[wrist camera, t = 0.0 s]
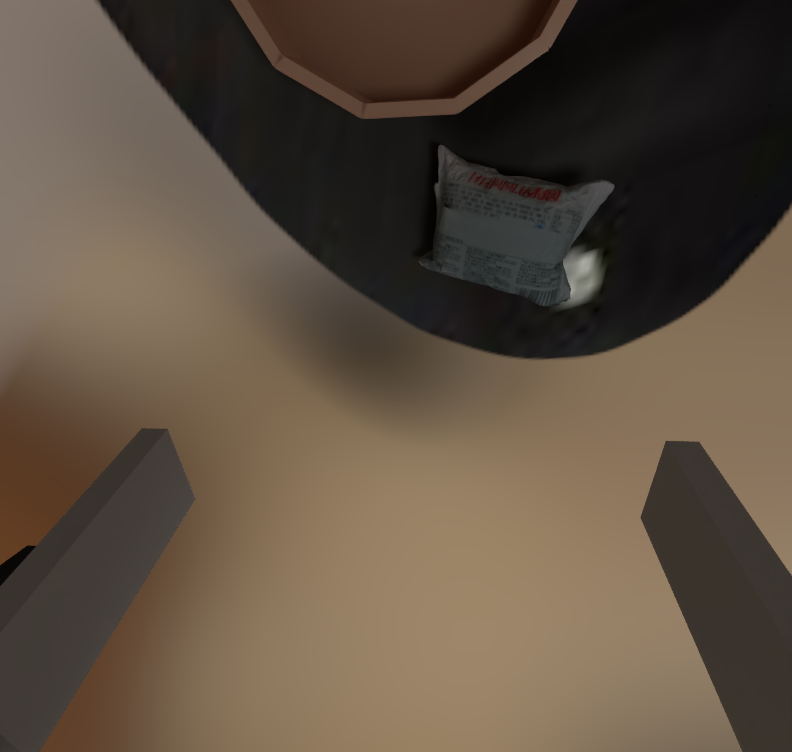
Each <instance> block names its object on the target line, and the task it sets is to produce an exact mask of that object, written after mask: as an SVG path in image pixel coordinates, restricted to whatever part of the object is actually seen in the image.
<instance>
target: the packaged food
mask: <svg viewBox="0 0 792 752" xmlns="http://www.w3.org/2000/svg"><path fill="white" fill-rule="evenodd" d="M438 158H439V169H438V175H439V181H438V184H437V183H436V184H435V185H434V191H435V195H436V204H437V220H436V229H435V233H434V239H433V250H432V251H429V252H427V253H426V254H425V255H424V256H423V257H420V258H419V260H418V264H420V265H421V266H423V267H426V268H427V269H430V270H433V271H436V272H439V273H442V274H445V275H448V276H452V277H455V278H459V279H463V280H467V281H470V282H474V283H478V284H482V285H489V286H491V287H492V288H494V289H497V290H501V291H505V292H508V293H514V294H517V295H522V296H524V297H526V298H527V299H529V300H531V301H533V302H535V303H536V304H538V305H541V306H556V305H560V303H561V302H562V301H564V302H566V301H567V300H568V299H570V291H571V288H570V285H569V283H568V280H567V277H566V273H565V269H564V266H563V259H564V258H565V257H566V255H567V253H568V251H569V249H570V247H571V245H572V243H573V242H574V241H575V239H576V238H577V237H578V235H579V234H580V233H581V232H582V230H583V229H584V227H585V226H586V224H587V222H588V221H589V220H590V218H591V217H592V216H593V214H594V213H595V212H596V211H597V209H598V208H599V206H600V204H601V203H603V202H604V201H605V200H606V199H607V196H608V195H609V194H610V193H611V192H612V191H613V189H614V184H612V183H611V182H609V181H607V180H602V179H600V180H595V181H591V182H584V183H580V184H576V185H572V186H569V187H567V186H564V185H561V184H556V183H552V182H548V181H544V180H540V179H533V178H530V177H524V176H504V175H501V174H499V173H498V171H496V170H495V169H493V168H490V167H486V166H482V165H479V164H475V163H470V162H466V160H464V159H462V158H460V157H458V156H457V155H455V154H454V153H452V152H451V151H450V150H449V149H447V148H446V147H445V146H443V145H439V148H438ZM441 171H442V173H441Z"/></svg>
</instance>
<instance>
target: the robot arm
mask: <svg viewBox="0 0 792 752" xmlns="http://www.w3.org/2000/svg"><path fill="white" fill-rule="evenodd" d="M194 500H195V497H194V495H193V492H192V489H191V487H190V484H189V482H188V479H187V477H186V474H185V472H184V469H183V467H182V464H181V462H180V459H179V457H178V454H177V452H176V449H175V447H174V444H173V442H172V439H171V437H170V434H169V431H168V429H145V428H143V429H141V430H140V431H139V432H138V433H137V435H136V436H135V437H134V438H133V439H132V440H131V441H130V442H129V443H128V445H127V446H126V447H125V448H124V449H123V450H122V451H121V452H120V453H119V455H118V456H117V457H116V458H115V459H114V460H113V461H112V462H111V464H110V465H109V466H108V467H107V468H106V469H105V470H104V471H103V472H102V474H101V475H100V476H99V477H98V478H97V479H96V480H95V481H94V482H93V484H92V485H91V486H90V487H89V488H88V489H87V490H86V491H85V492H84V494H83V495H82V496H81V497H80V498H79V499H78V500H77V501H76V503H75V504H74V505H73V506H72V507H71V508H70V509H69V510H68V512H67V513H66V514H65V515H64V516H63V517H62V518H61V519H60V520H59V521H58V523H57V524H56V525H55V526H54V527H53V528H52V529H51V530H50V531H49V533H48V534H47V535H46V536H45V537H44V538H43V539H42V540H41V542H40V543H39V544H38V545H37V546H26V547H25V548H23V549H22V550H21V551H19V552H18V553H17V554H15V555H14V556H12V557H11V558H10V559H8V560H7V561H5V562H4V563H3V564H1V565H0V752H40V750H41V748H42V747H43V745H44V744H45V742H46V740H47V739H48V737H49V735H50V734H51V732H52V731H53V729H54V727H55V726H56V724H57V722H58V721H59V719H60V718H61V716H62V714H63V713H64V711H65V710H66V708H67V706H68V705H69V703H70V701H71V700H72V698H73V697H74V695H75V693H76V692H77V690H78V688H79V687H80V685H81V684H82V682H83V680H84V679H85V677H86V675H87V674H88V672H89V670H90V669H91V667H92V666H93V664H94V662H95V661H96V659H97V657H98V656H99V654H100V653H101V651H102V649H103V648H104V646H105V645H106V643H107V641H108V640H109V638H110V636H111V635H112V633H113V632H114V630H115V628H116V627H117V625H118V623H119V622H120V620H121V619H122V617H123V615H124V614H125V612H126V610H127V609H128V607H129V606H130V604H131V602H132V601H133V599H134V598H135V596H136V594H137V593H138V591H139V589H140V588H141V586H142V584H143V583H144V581H145V580H146V578H147V576H148V575H149V573H150V572H151V570H152V568H153V567H154V565H155V563H156V562H157V560H158V559H159V557H160V555H161V554H162V552H163V550H164V549H165V547H166V546H167V544H168V542H169V541H170V539H171V537H172V536H173V534H174V532H175V531H176V529H177V528H178V526H179V524H180V523H181V521H182V520H183V518H184V516H185V515H186V513H187V511H188V510H189V508H190V507H191V505H192V503H193V502H194ZM641 520H642V522H643V524H644V526H645V529H646V531H647V533H648V536H649V538H650V540H651V542H652V545H653V547H654V550H655V552H656V554H657V556H658V558H659V561H660V563H661V565H662V568H663V570H664V572H665V575H666V577H667V579H668V582H669V584H670V586H671V588H672V591H673V593H674V595H675V598H676V600H677V602H678V604H679V607H680V609H681V611H682V614H683V616H684V618H685V621H686V623H687V625H688V628H689V630H690V632H691V634H692V636H693V639H694V641H695V643H696V646H697V648H698V650H699V653H700V655H701V657H702V659H703V662H704V664H705V666H706V669H707V671H708V673H709V676H710V678H711V680H712V683H713V685H714V687H715V689H716V692H717V694H718V696H719V699H720V701H721V703H722V706H723V708H724V710H725V712H726V714H727V717H728V719H729V721H730V723H731V726H732V728H733V731H734V733H735V735H736V737H737V740H738V742H739V745H740V747H741V749H742V751H743V752H792V576H791V574H790V573H789V571H788V570H787V569H786V567H785V566H784V564H783V563H782V561H781V560H780V558H779V557H778V555H777V554H776V552H775V551H774V550H773V548H772V547H771V545H770V544H769V543H768V541H767V539H766V538H765V537H764V535H763V534H762V532H761V531H760V530H759V528H758V527H757V525H756V524H755V522H754V521H753V520H752V518H751V516H750V515H749V513H748V512H747V511H746V509H745V508H744V506H743V505H742V503H741V502H740V500H739V499H738V498H737V496H736V495H735V493H734V492H733V490H732V489H731V487H730V486H729V484H728V483H727V482H726V480H725V479H724V477H723V476H722V475H721V473H720V471H719V470H718V469H717V467H716V466H715V465H714V463H713V461H712V460H711V459H710V457H709V456H708V454H707V453H706V451H705V450H704V448H703V447H702V445H701V444H700V443H699V442H685V441H666V442H665V445H664V448H663V451H662V455H661V457H660V460H659V463H658V467H657V470H656V473H655V476H654V479H653V482H652V485H651V488H650V491H649V494H648V497H647V500H646V503H645V506H644V509H643V512H642V515H641Z"/></svg>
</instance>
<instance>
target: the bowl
mask: <svg viewBox="0 0 792 752" xmlns="http://www.w3.org/2000/svg"><path fill="white" fill-rule="evenodd" d="M231 2H232V3H233V5H234V6H235V8H236V9H237V11H238V12H239V14H240V16H241V17H242V19H243V20H244V22H245V23H246V25H247V26H248V28H249V30H250V31H251V33H252V34H253V36H254V37H255V39H256V40H257V42H258V44H259V45H260V47H261V48H262V50H263V51H264V53H265V54H266V56H267V57H268V59H269V61H270V62H271V64H272V65H273V67H275V69H277V70H279V71H281V72H282V73H284V74H286V75H287V76H289V77H291V78H292V79H294V80H296V81H298V82H299V83H301V84H303V85H304V86H306V87H308V88H310V89H311V90H313V91H315V92H316V93H318V94H320V95H322V96H323V97H325V98H327V99H328V100H330V101H332V102H334V103H335V104H337V105H339V106H340V107H342V108H344V109H346V110H347V111H349V112H351V113H352V114H354V115H356V116H358V117H359V118H361V119H362V118H363V119H372V118H391V117H410V116H428V115H447V114H457V113H459V112H461V111H462V110H464V109H465V108H466V107H468V106H469V105H471V104H472V103H474V102H475V101H476V100H478V99H479V98H481V97H482V96H484V95H485V94H486V93H488V92H489V91H491V90H492V89H494V88H495V87H496V86H498V85H499V84H501V83H502V82H503V81H505V80H506V79H508V78H509V77H511V76H512V75H513V74H515V73H516V72H518V71H519V70H521V69H522V68H523V67H525V66H526V65H528V64H529V63H531V62H532V61H533V60H535V59H536V58H538V57H539V56H540V55H542V54H543V53H545V52H546V51H548V50H549V48H551V46H552V44H553V42H554V40H555V39H556V37H557V35H558V33H559V32H560V30H561V28H562V26H563V25H564V23H565V21H566V19H567V18H568V16H569V14H570V12H571V11H572V9H573V7H574V5H575V4H576V2H577V0H231Z"/></svg>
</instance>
